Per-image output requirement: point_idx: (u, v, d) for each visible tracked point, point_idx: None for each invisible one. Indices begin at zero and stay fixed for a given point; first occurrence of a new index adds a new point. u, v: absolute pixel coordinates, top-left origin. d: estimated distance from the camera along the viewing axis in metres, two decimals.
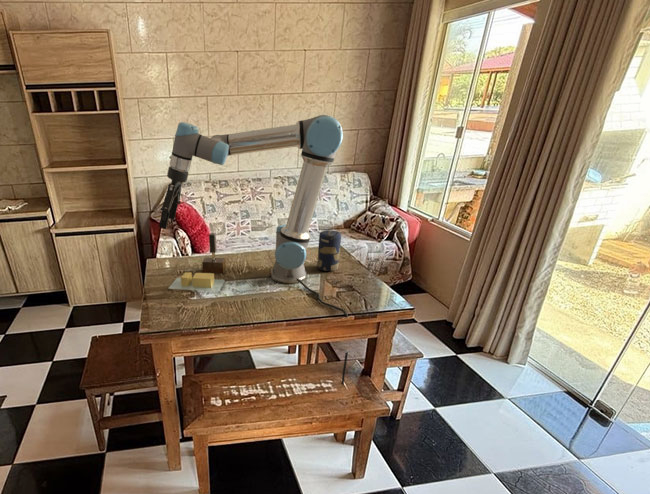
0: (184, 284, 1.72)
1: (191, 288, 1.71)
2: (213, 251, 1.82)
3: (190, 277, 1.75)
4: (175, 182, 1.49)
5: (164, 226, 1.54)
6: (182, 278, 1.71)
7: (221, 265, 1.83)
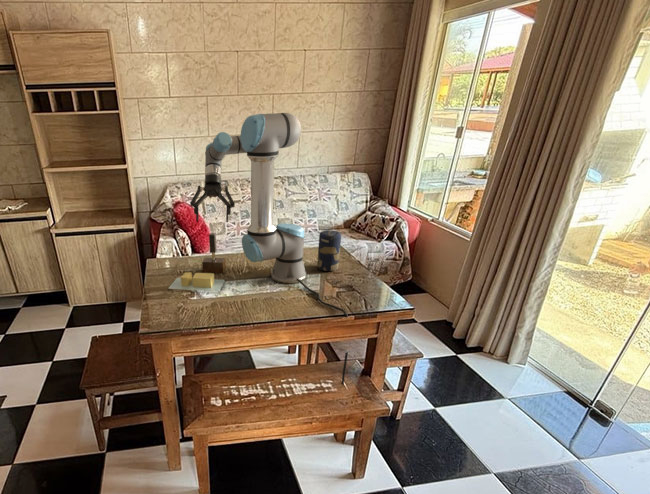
0: (184, 284, 1.72)
1: (191, 288, 1.71)
2: (213, 251, 1.82)
3: (190, 277, 1.75)
4: None
5: (196, 218, 1.84)
6: (182, 278, 1.71)
7: (221, 265, 1.83)
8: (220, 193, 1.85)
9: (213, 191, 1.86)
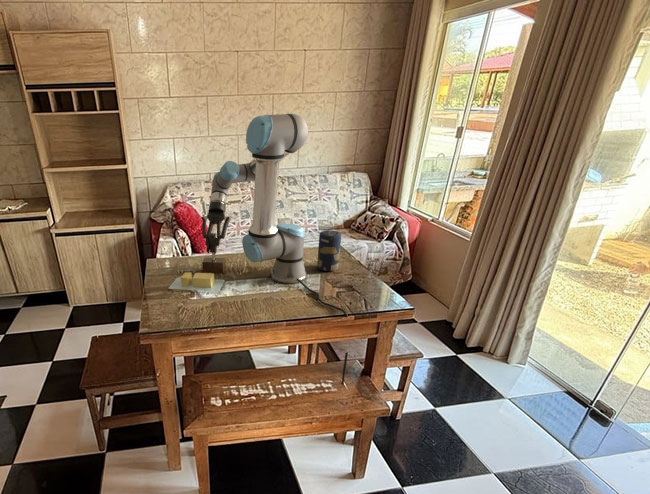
0: (184, 284, 1.72)
1: (191, 288, 1.71)
2: None
3: (190, 277, 1.75)
4: (208, 212, 1.85)
5: None
6: (182, 278, 1.71)
7: (221, 265, 1.83)
8: (218, 222, 1.81)
9: (215, 218, 1.82)
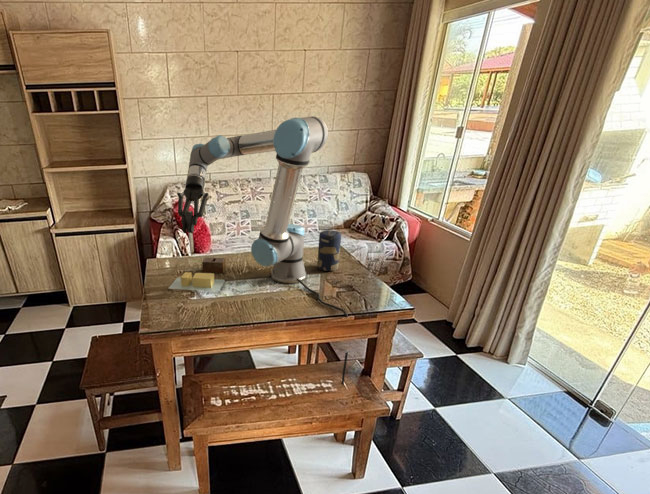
0: (184, 284, 1.72)
1: (191, 288, 1.71)
2: None
3: (190, 277, 1.75)
4: (185, 188, 1.67)
5: None
6: (182, 278, 1.71)
7: (221, 265, 1.83)
8: (196, 198, 1.63)
9: (193, 194, 1.64)
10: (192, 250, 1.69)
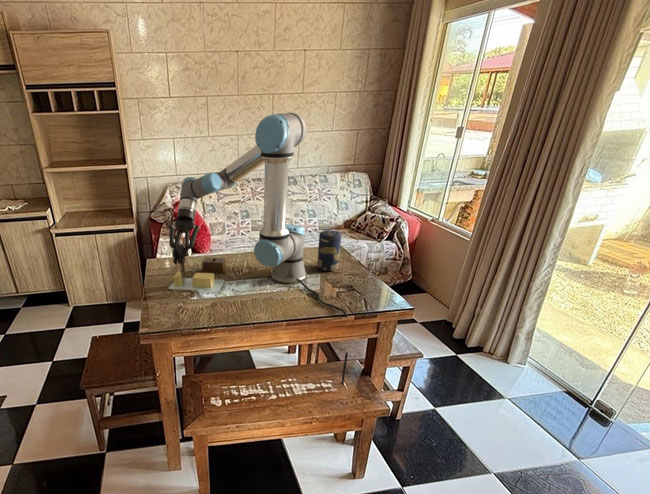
0: (177, 284, 1.73)
1: (191, 288, 1.71)
2: None
3: None
4: None
5: None
6: (175, 278, 1.72)
7: (221, 265, 1.83)
8: (186, 230, 1.69)
9: (184, 226, 1.70)
10: (184, 280, 1.74)
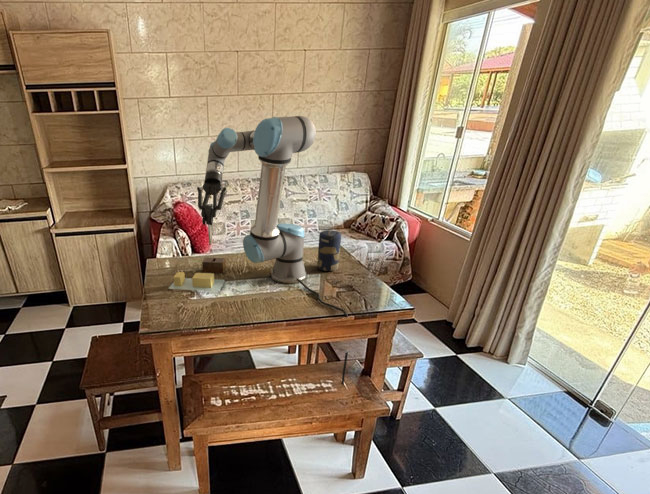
0: (177, 284, 1.73)
1: (191, 288, 1.71)
2: (209, 223, 1.75)
3: (183, 277, 1.76)
4: (204, 183, 1.77)
5: None
6: (175, 278, 1.72)
7: (221, 265, 1.83)
8: (214, 192, 1.74)
9: (212, 189, 1.75)
10: (211, 241, 1.80)
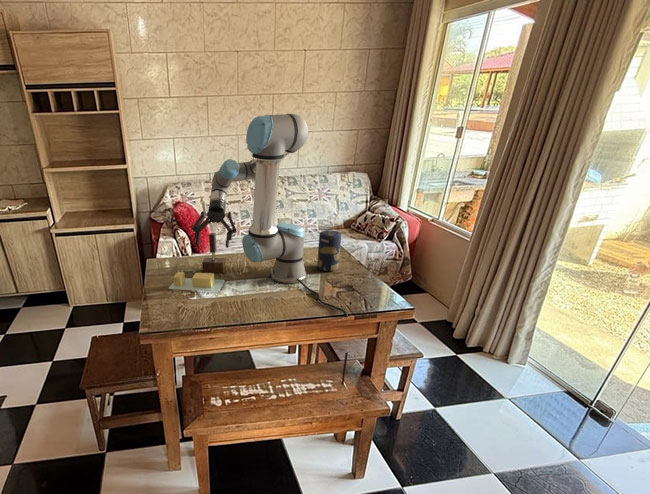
0: (177, 284, 1.73)
1: (191, 288, 1.71)
2: (213, 251, 1.82)
3: (183, 277, 1.76)
4: (208, 211, 1.84)
5: None
6: (175, 278, 1.72)
7: (221, 265, 1.83)
8: (222, 218, 1.81)
9: (216, 217, 1.82)
10: None
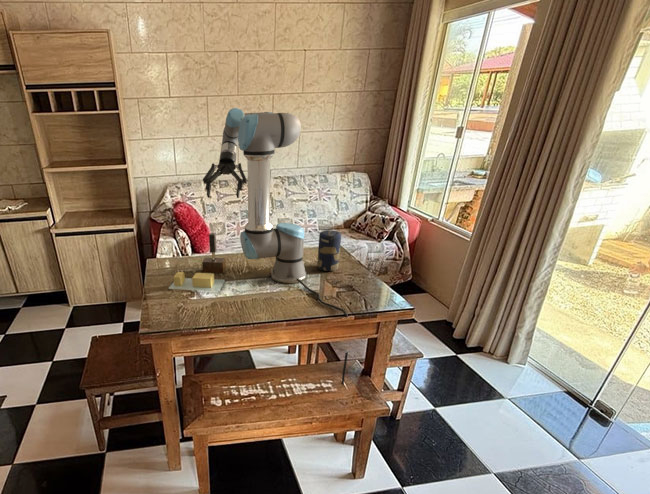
0: (177, 284, 1.73)
1: (191, 288, 1.71)
2: (213, 251, 1.82)
3: (183, 277, 1.76)
4: (219, 163, 1.88)
5: None
6: (175, 278, 1.72)
7: (221, 265, 1.83)
8: (233, 169, 1.84)
9: (226, 168, 1.85)
10: None
